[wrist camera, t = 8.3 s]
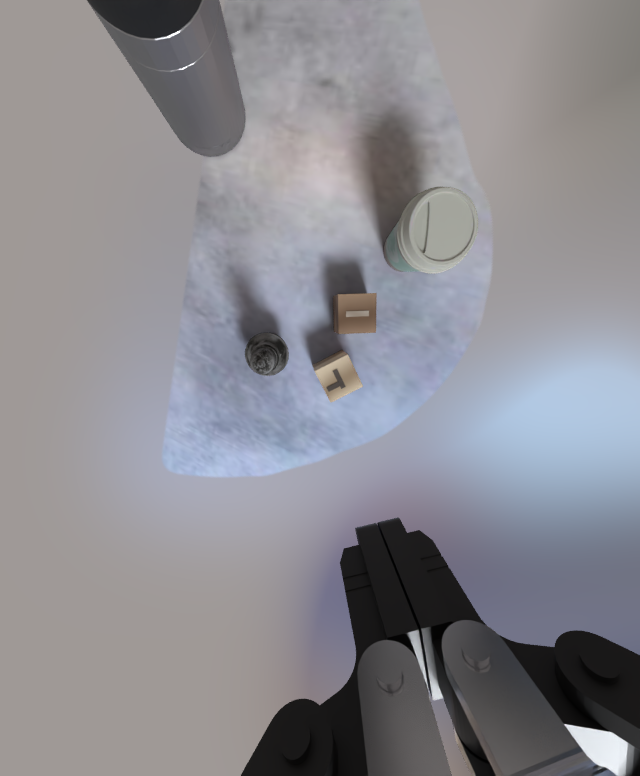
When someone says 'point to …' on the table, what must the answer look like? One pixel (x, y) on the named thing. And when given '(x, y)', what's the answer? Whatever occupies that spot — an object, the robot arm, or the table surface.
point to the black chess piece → (266, 354)
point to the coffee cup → (432, 232)
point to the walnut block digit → (354, 313)
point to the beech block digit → (337, 375)
